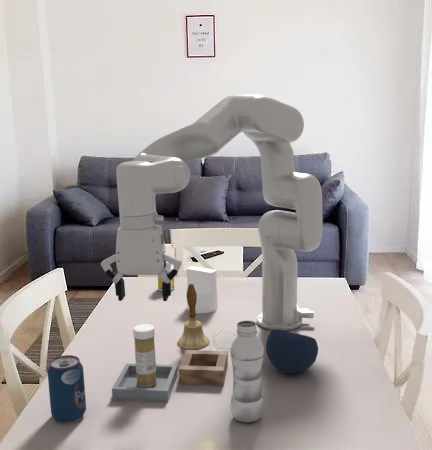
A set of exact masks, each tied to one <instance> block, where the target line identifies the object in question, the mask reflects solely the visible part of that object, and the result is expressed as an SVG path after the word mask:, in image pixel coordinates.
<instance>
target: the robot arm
mask: <svg viewBox="0 0 432 450" xmlns="http://www.w3.org/2000/svg"><path fill="white" fill-rule="evenodd" d="M304 127H305V121H304V118H303V115H302V113H301V112H300V110H298V109H297V108H296V107H294V106H292V105H290V104H286V103H284V102H281V101H280V100H276V99H275V98H272V97H269V96H266V95H263V94H231V95H227V96H226V97H224V98H223V99H221V100H220V101H219V102H218V103H216V104H215V105H214V106H213V107H211V108H210V109H209V110H208V111H207V112H205V113H204V114H203V115H202V116H201V117H199V118H198V119H197V120H196V121H194V122H192V123H191V124H190V125H186V126H184V127H181V128H179V129H177V130H175V131H173V132H170V133H168V134H166V135H163V136H161V137H160V138H158V139H156V140H154V141H153V142H152V143H150V144H149V145H147V146H146V147H145V148H144V149H142V150H141V151H139V153H138V154H137V155H136V156H135V157H134V158H133V159H132V160H131V161H124V162H121V163H119V164H118V165H117V166H116V172H115V175H116V185H117V186H116V187H117V198H118V201H117V202H118V212H119V225H120V226H119V227H118V228H117V233H116V243H115V245H116V246H115V254H112V255H111V256H109V257H107V258H105V259H103V260H102V261H101V262H100V266H101V267H102V270H103V271H104V272H105V275H106V276H108V278H110V280H112V282H113V283H114V287H115V289H114V290H115V296H117V299H118V301H119V302H121V301H123V300H124V298H125V297H126V289H125V287H126V286H125V285H126V284H125V279H124V278H123V276H157V277H158V276H159V277H160V278H161V279H162V280H163V283H162V291H161V292H162V301H163V302H167V301H168V299H169V297H171V295H172V291H171V280H172V279H173V278H174V279H175V276H177V275H178V273H179V270H180V269H181V266H182V265H183V261H182V260H181V259H179V258H177V257H175V256H173V255H171V254H169V253H167V251H166V243H165V242H166V241H165V238H164V234H163V233H164V232H163V229H162V225H160V223H163V222H164V215H159V214H158V211H157V208H156V195H159V194H174V193H178V192H180V191H182V190H184V189H185V188H186V187H187V186H188V184H189V182H190V180H191V169H190V167H189V165H188V164H187V163H186V162H188V161H189V162H190V161H193V160H200V159H205V158H208V157H211V156H214V155H216V154H217V153H219V152H220V151H221V150H222V149H223V148H224V147H226V146H227V145H228V144H229V142H231V141H232V140H233V139H234V138H235V137H237V136H238V135H239V134H240V133H243V134H244V136H246V137H247V138H248V139H250V141H252V143H254V145H255V146H256V148H257V150H258V152H259V155H260V163H261V183H262V184H261V185H262V186H261V187H262V196H263V199H264V201H265V203H267V204H268V205H269V206H272V207H276V208H282V209H290V210H295V212H293V211H287V210H279V209H276V210H269V211H267V212H265V213H264V214H263V215H261V217H260V218H259V221H258V228H257V229H258V238H259V242H260V246H261V258H262V259H261V260H262V262H261V263H262V265H261V267H262V270H261V273H262V276H261V277H262V279H261V280H262V281H261V282H262V283H261V285H262V287H261V289H262V291H261V293H262V298H261V299H262V303H261V304H262V307H261V309H262V311H261V313H260V314H258V315H257V316H256V324H258V326H259V327H262V328H264V329H267V330H270V331H272V330H274V329H278V330H284V331H290V330H294V329H297V328H299V327H301V325H303V319H314V316H315V315H314V311H311V310H309V308H300V307H299V304H298V260H297V255H296V251H300V252H307V253H309V252H312V251H315V250H316V249H318V247H319V245H320V243H321V241H322V237H323V190H322V187H321V186H322V185H321V184H320V181H319V179H318V178H317V177H316V176H315V175H314V174H313V175H312V174H311V173H304V172H297V171H296V169H295V157H294V150H293V147H292V144H291V143H293V142H296V141H297V140H298V139H299V138H300V137H301V136H302V134H303V132H304ZM158 223H159V224H158ZM294 250H296V251H294ZM167 262H169V263H171V264H172V266H173V270H172V271H171V272H170V273H169V272H168V271H167V269H166V268H165V267H166V266H167ZM113 263H115V266H116V270H117V271H116V270H114V268H112V267H111V264H113Z"/></svg>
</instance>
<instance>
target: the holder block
mask: <svg viewBox="0 0 432 450" xmlns="http://www.w3.org/2000/svg"><path fill="white" fill-rule="evenodd" d="M228 353H229V352H228V351H227V350H204V349H203V350H201V349H193V350H191V349H185V351H184V353H183V357H182V359H181V361H180V365H179V368H178V384H181V385H204V386H205V385H207V386H224V385H225V381H226V377H227V373H228V372H227V370H228V366H229V365H228V364H229V356H228V355H229V354H228Z"/></svg>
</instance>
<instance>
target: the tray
mask: <svg viewBox="0 0 432 450" xmlns="http://www.w3.org/2000/svg"><path fill="white" fill-rule="evenodd" d="M178 377H179V368H178V364H159V363H158V364H157V363H156V379H157V384H156V385H155V386H153V387H150V388H141V387H139V386H138V385H137V372H136V363H129V362H128V363H126V364H124V366H123V368H122V370H121V372H120V373H119V375H118V377H117V378H116V381H115V383H114V384H113V386H112V387H111V397H112V400H113V401H114V400H116V401H135V402H136V401H141V402H161V403H162V402H164V403H165V402H167V403H168V402H169V400H170V398H171V395H172V392H173V389H174V387H175V384H176V380H177V378H178Z"/></svg>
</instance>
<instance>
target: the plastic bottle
mask: <svg viewBox="0 0 432 450" xmlns="http://www.w3.org/2000/svg"><path fill="white" fill-rule="evenodd" d="M257 328H258V327H257V322H255V321H253V320H241V321H239V322H237V323H236V334H237V336H236V337H235V339H234V340H233V342H232V344H231V346H230V348H229V349H230V351H229V352H230V359H231V366H232V375H233V377H232V378H233V379H232V380H233V381H232V382H233V384H232V385H233V386H232V393H231V397H230V403H229V404H230V405H229V407H230V412H231V413H230V414H231V415H232V417H233V418H234V419H235V420H236V421H237V422H241V423H249V424H250V423H253V422H256V421H258V420H259V419H261V417H262V416H263V414H264V409H265V403H264V397H263V392H262V390H263V389H262V369H263V368H262V367H263V362H264V355H265V348H264V344H263V343H262V341H261V340H260V338H259V337H258V336H257V334H258V330H257Z"/></svg>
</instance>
